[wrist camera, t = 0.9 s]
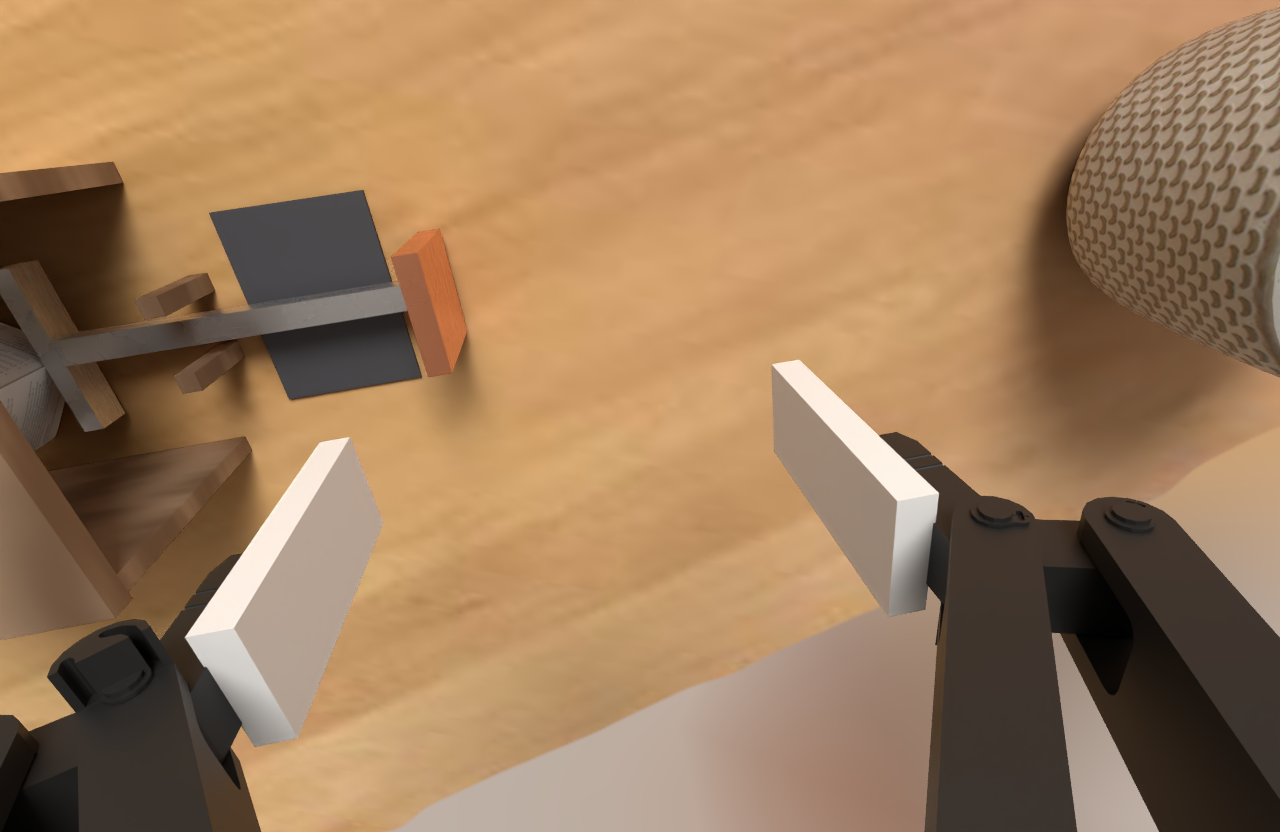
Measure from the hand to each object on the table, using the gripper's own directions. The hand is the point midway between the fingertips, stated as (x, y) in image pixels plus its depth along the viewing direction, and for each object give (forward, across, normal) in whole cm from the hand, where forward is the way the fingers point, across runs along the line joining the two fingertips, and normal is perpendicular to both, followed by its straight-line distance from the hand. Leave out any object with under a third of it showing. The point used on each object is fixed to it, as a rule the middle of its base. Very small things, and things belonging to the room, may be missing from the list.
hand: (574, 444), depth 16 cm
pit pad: (+22, -14, 0) cm, 26 cm away
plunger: (+22, -17, 0) cm, 27 cm away
